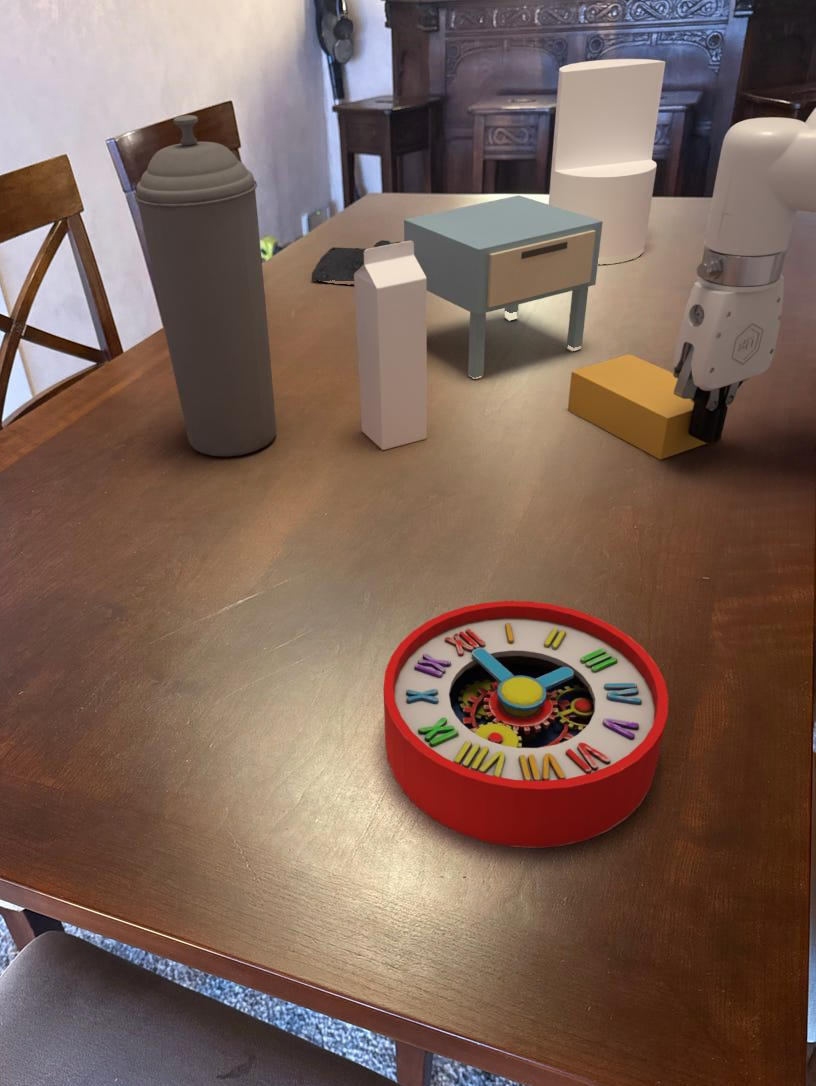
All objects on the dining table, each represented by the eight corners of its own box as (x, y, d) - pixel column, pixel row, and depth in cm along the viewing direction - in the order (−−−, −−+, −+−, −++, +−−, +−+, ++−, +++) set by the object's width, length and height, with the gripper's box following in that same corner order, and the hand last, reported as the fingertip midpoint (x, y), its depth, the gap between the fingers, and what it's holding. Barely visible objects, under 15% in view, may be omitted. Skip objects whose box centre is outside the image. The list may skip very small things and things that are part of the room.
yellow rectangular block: (720, 438, 103) (729, 397, 100) (660, 459, 100) (667, 418, 97) (623, 392, 114) (629, 353, 111) (567, 409, 111) (571, 371, 108)
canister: (211, 474, 104) (153, 134, 82) (165, 436, 112) (101, 119, 90) (303, 441, 109) (272, 112, 87) (253, 407, 117) (212, 100, 95)
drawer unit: (591, 352, 125) (606, 222, 114) (477, 384, 119) (482, 250, 108) (511, 314, 138) (518, 195, 127) (405, 342, 132) (403, 219, 121)
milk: (427, 439, 107) (428, 246, 93) (381, 451, 106) (376, 257, 92) (404, 420, 112) (402, 233, 98) (360, 431, 110) (351, 242, 96)
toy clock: (490, 836, 54) (334, 656, 68) (486, 895, 57) (339, 712, 71) (733, 714, 60) (545, 573, 74) (716, 773, 64) (539, 628, 78)
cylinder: (530, 243, 166) (543, 65, 148) (619, 232, 168) (641, 55, 150) (566, 270, 153) (584, 79, 135) (661, 258, 154) (691, 67, 137)
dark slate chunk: (335, 257, 167) (333, 230, 164) (449, 262, 160) (450, 234, 157) (304, 283, 156) (302, 255, 153) (425, 290, 149) (425, 260, 146)
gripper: (713, 291, 82) (677, 469, 94) (827, 259, 87) (780, 432, 98) (654, 271, 87) (627, 442, 99) (765, 242, 92) (727, 408, 104)
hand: (703, 437), depth 99 cm, fingers closed
